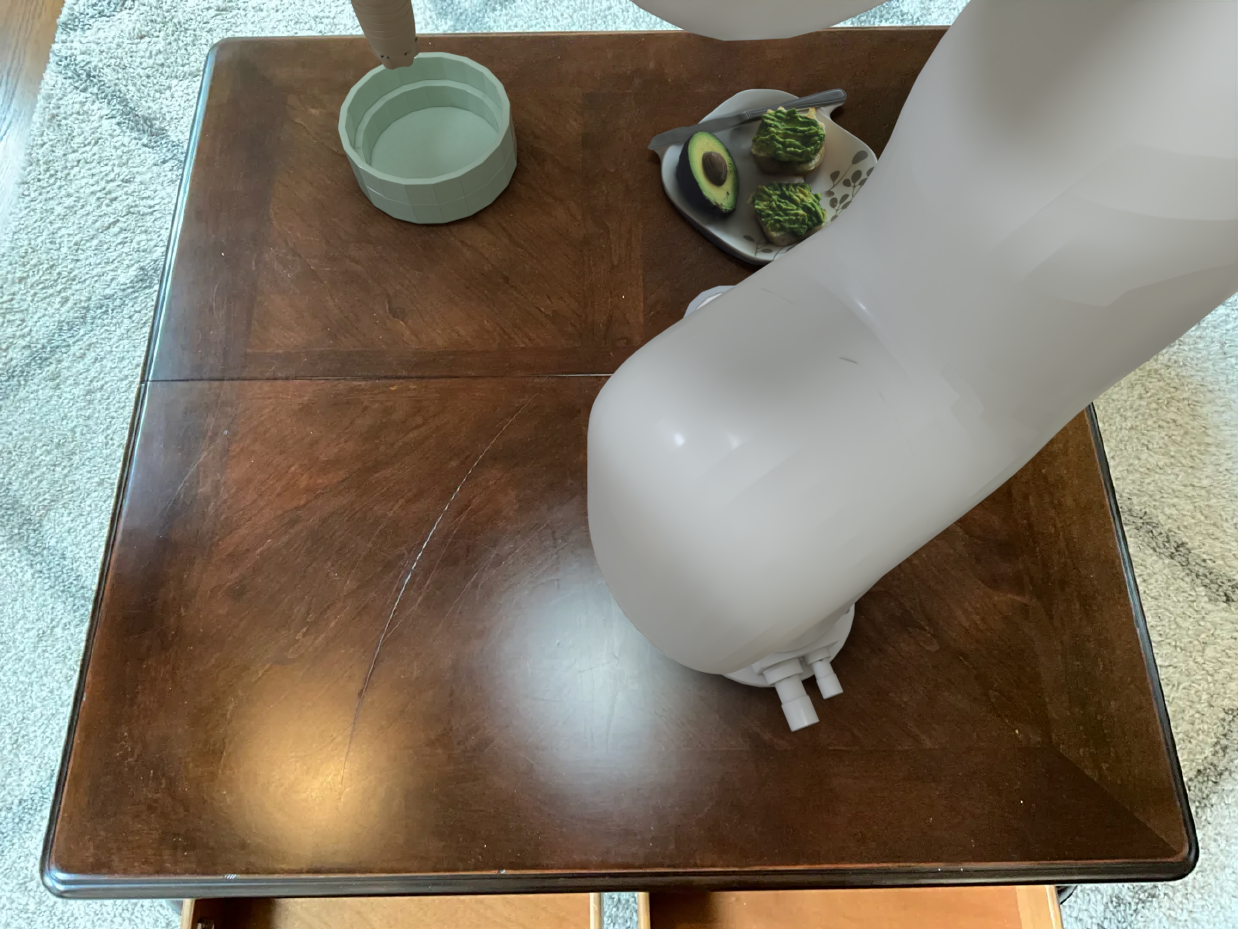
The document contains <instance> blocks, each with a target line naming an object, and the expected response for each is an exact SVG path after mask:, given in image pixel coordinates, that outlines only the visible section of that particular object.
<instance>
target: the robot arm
mask: <svg viewBox="0 0 1238 929" xmlns="http://www.w3.org/2000/svg"><path fill="white" fill-rule="evenodd" d="M629 1H630V2H631V3H633V4H634V5H635V7H636V6H637V8H638V9H640V10H643V11H644V12H646V13H649V14H650V15H652V16H654V17H656V18H658V19H659V20H662V21H664V22H666V23H668V24H670V25H672V26H675V27H677V28H679V29H681V30H683V31H686V32H687V33H690V34H695V35H698V36H703V37H706V38H711V39H715V40H720V41H722V42H723V41H724V42H727V41H759V40H760V41H762V40H763V41H764V40H779V39H781V40H782V39H790V38H794V37H798V36H802V35H806V34H810V33H815V32H818V31H822V30H825V29H826V30H827V29H829V28H832V27H833V26H836V25H838V24H841V23H843V22H845V21H848V20H850V19H852V18H855V17H857V16H860V15H862V14H864V13H866V12H869V11H871V10H873V9H876V8H877V7H880V6H882V5H884V4H886V3H888V2H890V1H891V0H629ZM877 161H878V162H877V164H876V165H875V167H874V169H873V171H872V173H871V174H870V176H869V177H868V179H867V180H866V182H865V184H864V185H863V187H862V188H861V190H860V192H859V193H858V194H857V195H856V197H855V198H854V199H853V200H852V202H851V203H850V204H849V206H848V207H847V208H846V209H845V211H844V212H843V213H841V214H840V215H839V216H838V217H837V218H836V219H835V220H833V221H832V222H831V223H829V224H828V225H827V226H825V227H824V228H822V229H821V230H819V231H818V232H816V233H815V234H813V235H812V236H810V237H809V238H807V239H806V240H804V241H803V242H801V243H800V244H798V245H797V246H795V247H794V248H792V249H791V250H789V251H788V252H786V253H785V254H783V255H782V256H780V257H778V258H777V259H775V260H774V261H772V262H771V263H769V264H768V265H766V266H763V267H762V268H760V269H759V270H757V271H755V272H754V273H752V274H751V275H749V276H747V277H746V278H744V279H743V280H741V281H740V282H738V283H736V284H735V285H733V286H734V287H732V288H730V289H728V290H727V291H725V292H724V293H722V294H720V295H719V296H717V297H716V298H714V299H713V300H711V301H709V302H708V303H706V304H705V305H703V306H702V307H700V308H698V309H697V310H695V311H694V312H692V313H691V314H689V315H687V316H686V317H684V316H683V318H681V319H680V320H678V321H677V322H675V323H674V324H671V326H669V327H667V328H666V329H665V330H663V331H662V332H660V333H658V335H656V336H654V337H653V338H652V339H650V340H649V341H648V342H646V343H645V344H643V345H642V346H641V347H640V348H638V349H637V350H636V351H635V352H634V353H632V354H631V355H630V356H629V357H628V358H627V359H626V360H624V362H623V363H621V365H620V366H619V367H618V368H617V369H616V370H615V371H614V372H613V374H612V375H611V376H610V377H609V378H608V380H607V381H606V382H605V384H603V386H602V388H601V389H600V390H599V391H598V392H599V393H598V394H597V396H596V398H595V399H594V402H593V404H592V406H591V410H590V413H589V418H588V427H587V437H586V438H587V444H586V445H587V446H586V448H587V452H586V454H587V455H586V456H587V459H586V460H587V464H586V465H587V467H586V468H587V472H586V473H587V475H586V476H587V480H586V481H587V486H586V488H587V490H586V491H587V492H586V493H587V494H586V496H587V497H586V500H587V501H586V502H587V503H586V504H587V521H588V522H587V523H588V529H589V535H590V540H591V545H592V549H593V553H594V556H595V559H596V563H597V565H598V568H599V571H600V573H601V576H602V578H603V580H604V582H605V585H606V587H607V589H608V590H609V591H608V592H609V593H610V594H611V596H612V598H613V600H614V602H615V603H616V604H617V606H618V608H619V609H620V611H621V612H622V614H623V615H624V616H625V618H626V619H627V620H628V622H629V623H630V624H631V625H632V626H633V627H634V628H635V629H636V631H637V632H638V633H639V634H640V635H641V636H642V637H643V638H644V639H645V640H646V641H647V642H648V643H650V644H651V645H652V646H653V647H654V648H655V649H657V650H658V651H659V652H661V653H662V654H664V655H665V656H667V657H668V658H670V659H671V660H673V661H675V662H676V663H679V664H681V665H683V666H685V667H687V668H689V669H691V670H694V671H698V672H702V673H705V674H711V675H722V676H723V677H725V678H726V679H730V680H732V681H734V682H737V683H739V684H742V685H747V686H752V687H756V688H757V687H758V688H775V690H776V692H777V695H778V697H779V699H780V702H781V705H780V706H781V709H782V711H783V714H784V716H785V719H786V722H787V723H788V726H789V730H790V731H791V733H792V732H797V731H798V730H802V729H804V728H807V727H810V726H812V725H815V724H817V723H819V722H820V719H819V717H818V715H817V712H816V710H815V707H814V705H813V703H812V700H811V698H810V696H809V695H808V694H807V692H806V690H805V687H804V684H803V682H802V681H805V680H807V679H809V678H810V677H812V676H814V677H815V679H816V683H817V684H816V685H817V687H818V689H819V691H820V693H821V695H822V698H823V700H827V699H830V698H832V697H835V696H838V695H841V694H842V693H844V690H843V688H842V686H841V683H840V681H839V679H838V677H837V674H836V673H835V672H834V670H833V667H832V665H831V662H832V660H834V659H835V657H836V656H837V655H838V653H839V652H840V651H841V649H843V647H844V645H845V643H846V641H847V638H848V637H849V634H850V632H851V629H852V625H853V621H854V617H855V603H856V602H858V600H859V599H861V598H862V597H863V596H864V595H865V594H866V593H867V592H868V591H870V589H871V588H872V587H874V585H875V584H876V583H878V581H880V580H881V579H882V578H883V577H884V576H885V575H886V574H887V573H889V572H890V571H891V570H893V569H894V568H896V567H897V566H899V565H900V564H901V563H902V562H903V561H905V560H906V559H908V558H909V557H910V556H912V555H913V554H914V553H916V552H917V551H918V550H920V549H921V548H922V547H924V546H925V545H926V544H927V543H929V542H930V541H931V540H933V539H934V538H935V537H936V536H938V535H939V534H940V533H942V532H943V531H945V530H946V529H947V528H949V527H950V526H951V525H952V524H954V523H955V522H957V521H958V520H959V519H961V518H962V517H963V516H964V515H966V514H967V513H968V512H970V511H971V510H972V509H973V508H975V507H976V506H977V505H978V504H980V503H981V502H982V501H984V500H985V499H987V497H989V496H990V495H991V494H992V493H994V492H995V491H996V490H998V489H999V488H1000V487H1001V486H1002V485H1003V484H1005V483H1006V482H1007V481H1008V480H1009V479H1010V478H1012V477H1013V476H1014V475H1015V474H1016V473H1017V472H1019V471H1020V470H1021V469H1022V468H1023V467H1024V466H1025V465H1026V464H1028V463H1029V461H1030V460H1032V459H1033V458H1034V457H1035V456H1036V455H1037V454H1038V453H1039V452H1040V451H1041V450H1042V449H1043V448H1044V447H1045V446H1046V445H1047V444H1048V443H1049V442H1050V441H1051V440H1052V439H1054V437H1055V436H1056V435H1057V434H1058V433H1060V431H1061V430H1062V429H1063V428H1065V426H1066V425H1068V423H1070V421H1071V420H1073V419H1074V418H1075V417H1076V416H1077V415H1078V414H1080V413H1081V412H1082V411H1083V410H1084V409H1086V408H1087V407H1088V406H1089V405H1090V404H1091V403H1093V402H1095V400H1097V399H1098V398H1099V397H1100V396H1102V395H1103V394H1105V392H1107V391H1108V390H1110V389H1111V388H1112V387H1114V386H1115V385H1116V384H1118V383H1119V382H1120V381H1122V380H1123V379H1125V378H1126V377H1128V375H1130V374H1132V373H1133V372H1134V371H1136V370H1137V369H1139V368H1140V367H1141V366H1143V365H1144V364H1146V363H1147V362H1149V361H1150V360H1151V359H1153V358H1154V357H1156V356H1157V355H1159V353H1161V352H1163V351H1164V350H1165V349H1167V348H1168V347H1170V346H1171V345H1173V344H1174V343H1175V342H1177V341H1178V340H1179V339H1180V338H1181V337H1183V336H1184V335H1186V333H1188V332H1189V331H1191V330H1192V329H1193V328H1194V327H1195V326H1196V325H1198V324H1199V323H1200V322H1201V321H1202V320H1204V319H1205V318H1206V317H1207V316H1208V315H1210V314H1211V313H1213V311H1215V310H1216V309H1217V308H1218V307H1220V306H1221V305H1222V304H1223V303H1224V302H1226V301H1227V300H1229V299H1230V298H1231V297H1233V296H1234V295H1235V294H1237V293H1238V0H969V1H968V2H967V3H966V4H965V6H964V7H963V8H962V10H961V11H960V13H959V14H958V15H957V16H956V18H955V19H954V20H953V22H952V23H951V25H950V26H949V27H948V29H947V30H946V32H945V33H944V34H943V36H941V39H940V40H939V42H938V43H937V44H936V46H935V48H934V50H933V51H932V52H931V55H930V56H929V58H928V59H927V61H926V62H925V64H924V66H923V67H922V69H921V70H920V72H919V73H918V75H917V77H916V79H915V81H914V82H913V85H912V87H911V89H910V92H909V94H908V96H907V98H906V100H905V101H904V103H903V106H902V108H901V110H900V113H899V115H898V117H897V121H896V123H895V126H894V128H893V130H892V133H891V135H890V137H889V139H888V141H887V143H886V145H885V147H884V149H883V151H882V152H881V154H880V156H879V158H878V159H877Z"/></svg>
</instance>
